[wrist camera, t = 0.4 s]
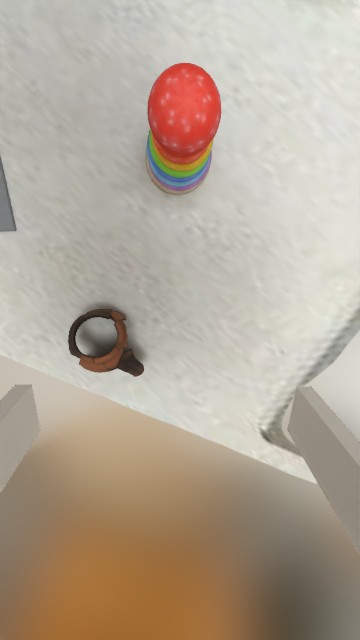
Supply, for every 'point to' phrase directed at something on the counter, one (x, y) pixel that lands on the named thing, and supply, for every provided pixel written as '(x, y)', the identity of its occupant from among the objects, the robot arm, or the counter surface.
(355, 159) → the counter surface
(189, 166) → the stacking toy
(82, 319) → the brown jagged ring
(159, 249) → the counter surface
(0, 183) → the board
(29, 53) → the counter surface
